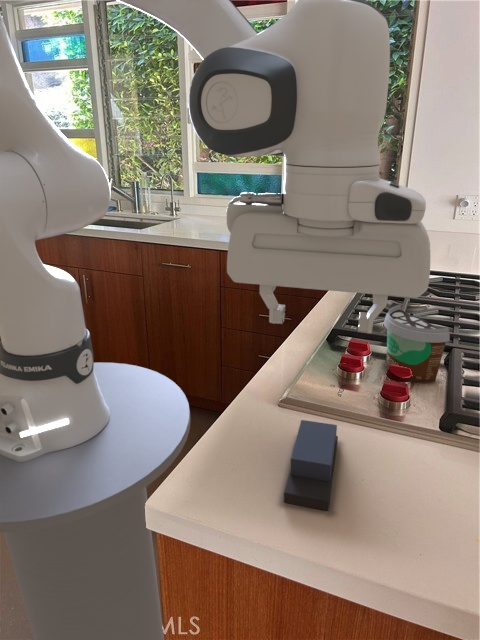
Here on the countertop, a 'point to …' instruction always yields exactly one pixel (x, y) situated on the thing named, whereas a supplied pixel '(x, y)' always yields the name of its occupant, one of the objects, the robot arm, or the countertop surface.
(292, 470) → the stepped blue block
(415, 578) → the countertop surface
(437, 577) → the countertop surface
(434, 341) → the food container
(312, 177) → the robot arm
